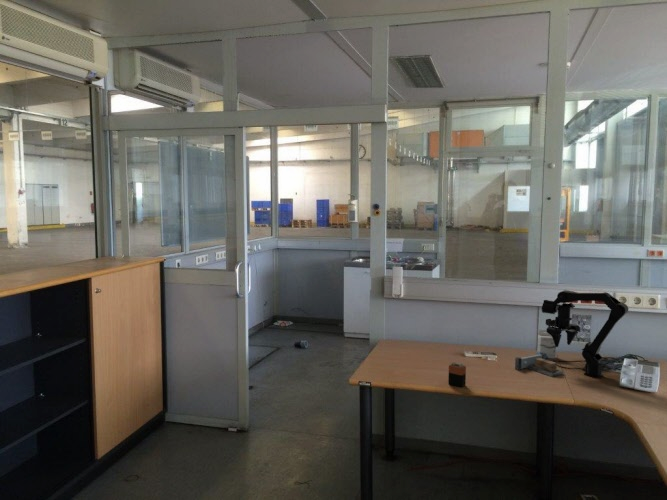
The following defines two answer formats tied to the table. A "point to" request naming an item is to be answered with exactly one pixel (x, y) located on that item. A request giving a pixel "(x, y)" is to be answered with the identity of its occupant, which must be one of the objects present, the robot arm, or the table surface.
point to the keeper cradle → (552, 374)
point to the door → (529, 360)
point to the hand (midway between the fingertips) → (562, 345)
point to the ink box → (546, 344)
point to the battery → (457, 374)
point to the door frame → (518, 361)
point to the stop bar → (545, 365)
